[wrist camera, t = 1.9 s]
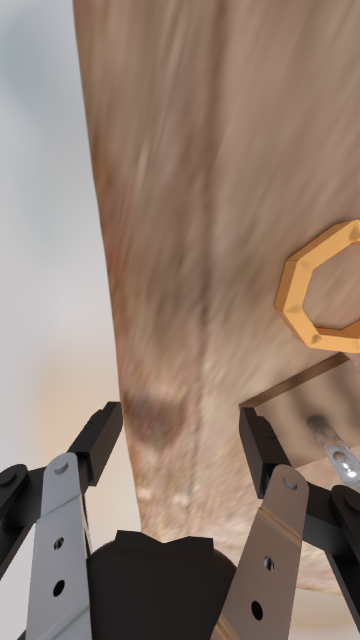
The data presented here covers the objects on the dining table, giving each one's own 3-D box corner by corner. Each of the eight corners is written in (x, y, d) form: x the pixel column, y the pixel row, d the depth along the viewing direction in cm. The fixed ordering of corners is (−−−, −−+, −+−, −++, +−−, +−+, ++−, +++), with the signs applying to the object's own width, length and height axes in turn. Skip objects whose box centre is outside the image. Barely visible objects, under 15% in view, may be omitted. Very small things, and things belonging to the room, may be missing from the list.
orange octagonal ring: (374, 195, 21) (401, 185, 18) (426, 298, 24) (457, 303, 21) (256, 281, 25) (263, 284, 22) (312, 359, 28) (324, 370, 25)
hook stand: (340, 352, 27) (413, 402, 18) (385, 420, 30) (469, 494, 21) (238, 405, 32) (254, 465, 23) (286, 458, 35) (316, 531, 26)
